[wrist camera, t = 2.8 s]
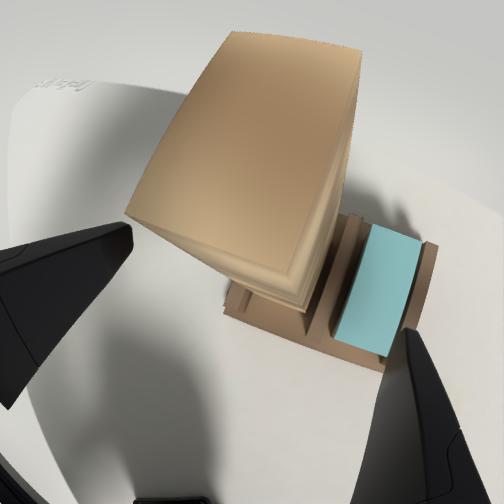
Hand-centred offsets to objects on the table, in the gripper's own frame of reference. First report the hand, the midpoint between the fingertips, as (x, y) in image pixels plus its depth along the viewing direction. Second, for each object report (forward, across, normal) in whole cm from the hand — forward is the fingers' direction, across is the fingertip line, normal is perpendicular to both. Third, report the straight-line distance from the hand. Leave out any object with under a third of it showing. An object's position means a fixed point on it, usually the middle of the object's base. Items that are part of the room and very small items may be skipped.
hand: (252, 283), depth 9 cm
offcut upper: (+7, -5, +4) cm, 9 cm away
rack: (+9, -2, +6) cm, 11 cm away
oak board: (+8, 0, +5) cm, 10 cm away
